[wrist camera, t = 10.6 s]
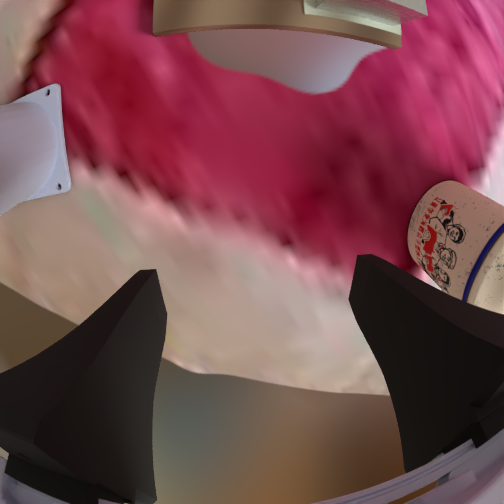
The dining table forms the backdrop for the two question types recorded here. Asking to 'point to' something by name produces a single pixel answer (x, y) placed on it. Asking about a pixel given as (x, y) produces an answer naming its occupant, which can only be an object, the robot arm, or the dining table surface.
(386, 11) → the c link
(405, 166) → the dining table surface
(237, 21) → the board
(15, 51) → the dining table surface
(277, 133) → the dining table surface
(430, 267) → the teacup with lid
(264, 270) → the dining table surface
